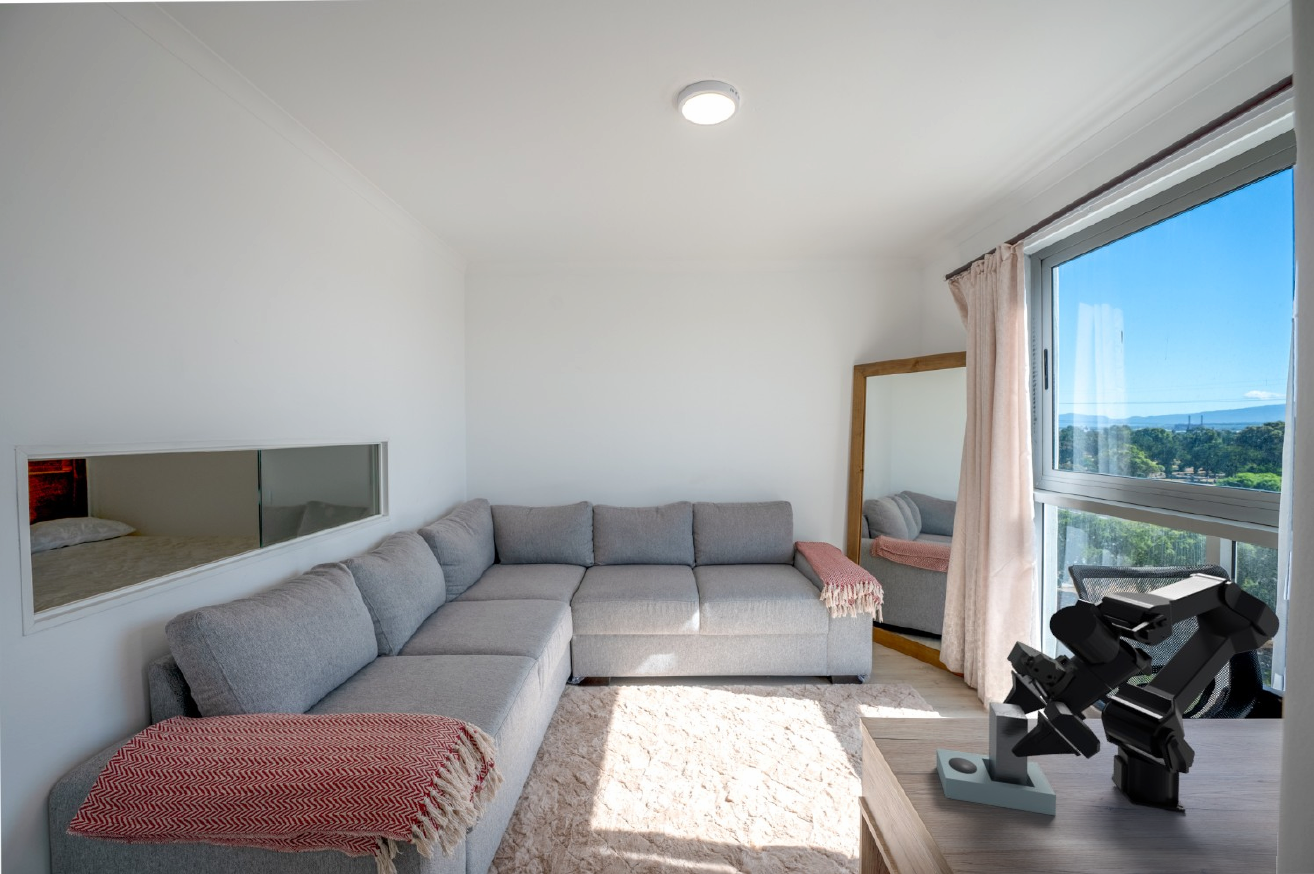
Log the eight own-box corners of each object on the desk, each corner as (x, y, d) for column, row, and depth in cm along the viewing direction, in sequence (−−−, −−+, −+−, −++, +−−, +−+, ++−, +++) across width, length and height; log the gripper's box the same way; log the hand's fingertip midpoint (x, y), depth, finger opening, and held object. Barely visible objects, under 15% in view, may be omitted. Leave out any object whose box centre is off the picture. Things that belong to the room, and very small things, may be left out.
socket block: (1036, 781, 87) (1037, 761, 87) (1055, 815, 80) (1055, 794, 80) (936, 766, 92) (936, 747, 91) (945, 797, 84) (945, 777, 84)
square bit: (1018, 785, 87) (1019, 705, 86) (1027, 802, 83) (1027, 718, 82) (988, 780, 88) (989, 701, 87) (995, 797, 84) (996, 715, 83)
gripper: (1027, 607, 92) (950, 666, 95) (1072, 655, 74) (976, 726, 78) (1084, 661, 90) (1003, 719, 93) (1145, 724, 72) (1043, 793, 76)
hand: (1004, 735), depth 85 cm, fingers open, 9 cm apart
